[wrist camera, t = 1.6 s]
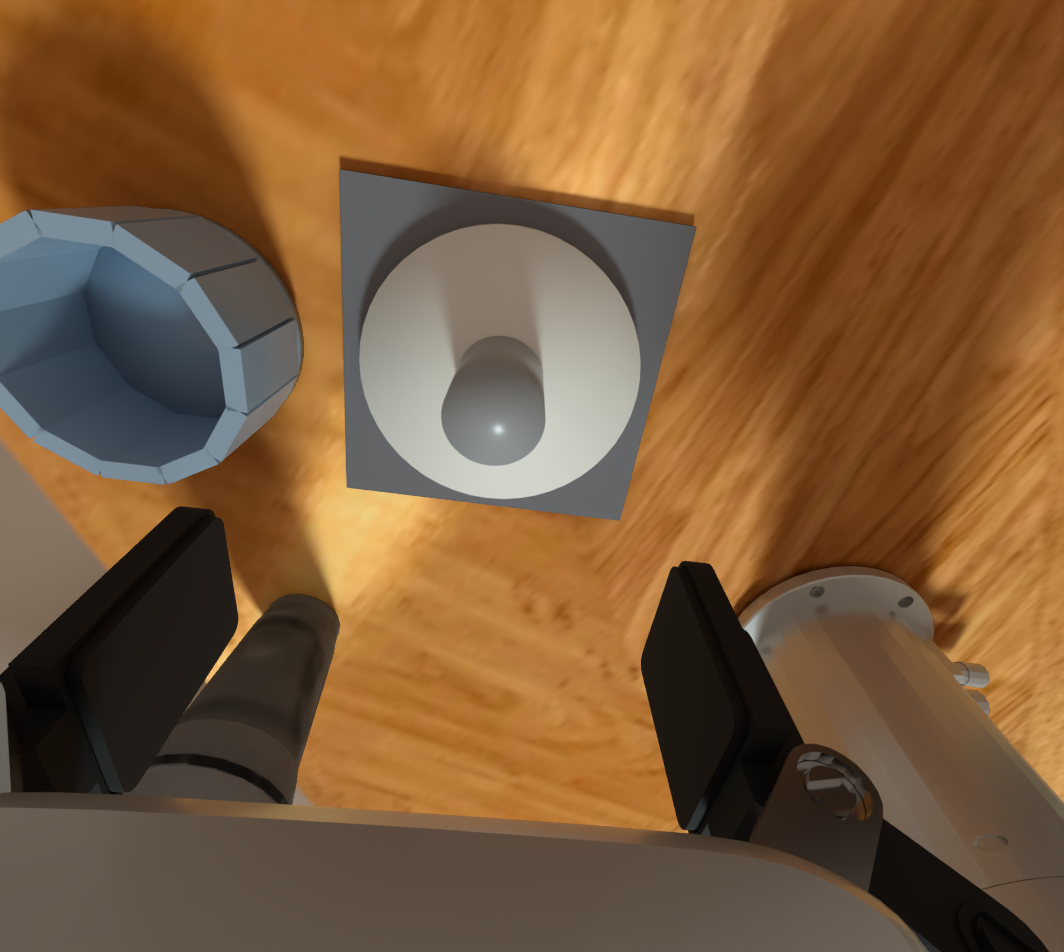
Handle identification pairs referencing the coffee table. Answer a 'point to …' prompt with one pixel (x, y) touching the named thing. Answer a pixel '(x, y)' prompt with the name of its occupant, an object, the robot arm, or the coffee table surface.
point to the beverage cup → (252, 712)
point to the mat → (432, 210)
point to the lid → (499, 361)
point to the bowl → (141, 338)
